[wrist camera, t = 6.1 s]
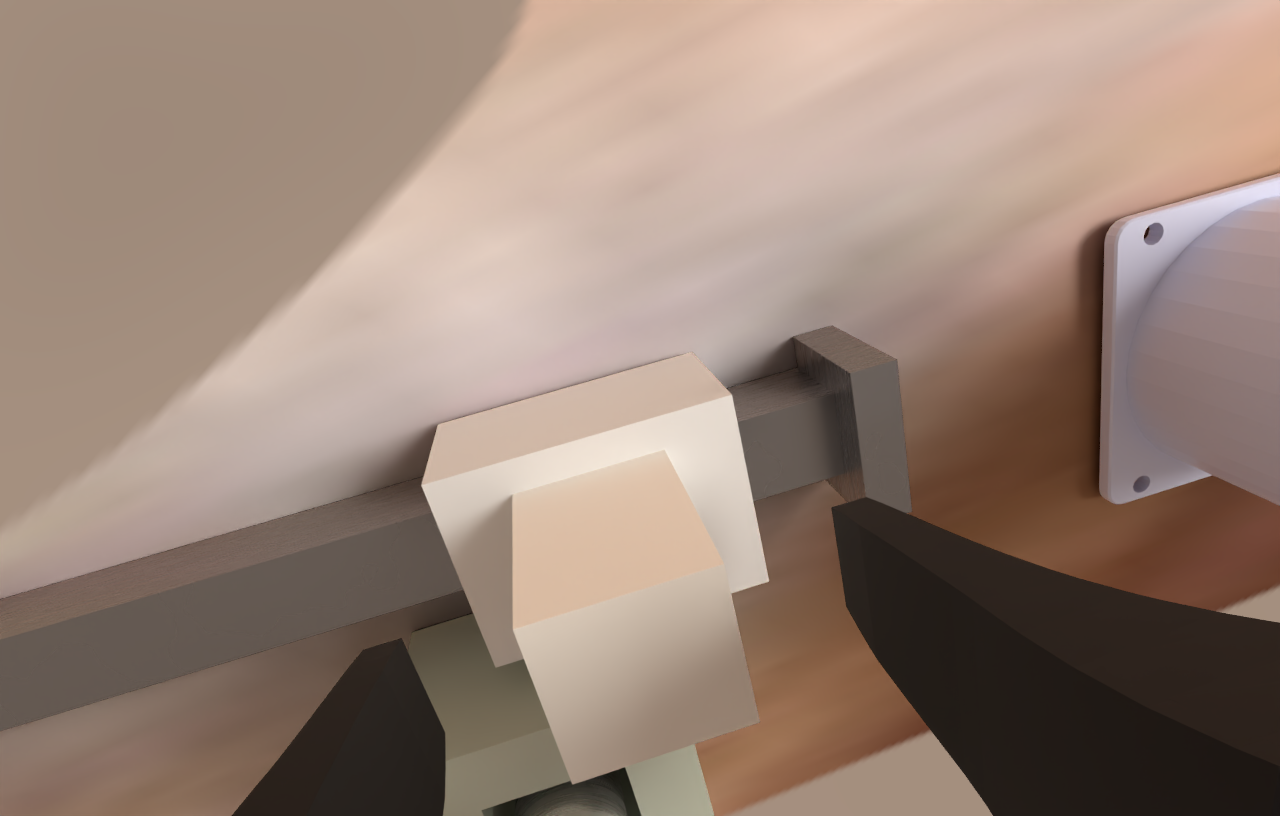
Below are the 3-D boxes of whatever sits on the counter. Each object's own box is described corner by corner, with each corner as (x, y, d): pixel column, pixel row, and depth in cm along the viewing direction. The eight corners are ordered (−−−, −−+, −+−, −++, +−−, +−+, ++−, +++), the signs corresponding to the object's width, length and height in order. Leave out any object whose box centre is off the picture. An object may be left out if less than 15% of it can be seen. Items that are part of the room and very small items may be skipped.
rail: (832, 325, 16) (897, 359, 14) (849, 456, 18) (911, 511, 15) (-222, 627, 15) (-394, 738, 12) (-114, 748, 16) (-245, 872, 13)
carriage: (692, 351, 16) (819, 489, 9) (726, 512, 18) (856, 725, 11) (437, 424, 15) (383, 622, 9) (498, 581, 17) (490, 847, 10)
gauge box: (639, 562, 18) (678, 685, 14) (686, 729, 20) (732, 880, 16) (411, 632, 17) (380, 782, 13) (486, 795, 20) (479, 968, 15)
